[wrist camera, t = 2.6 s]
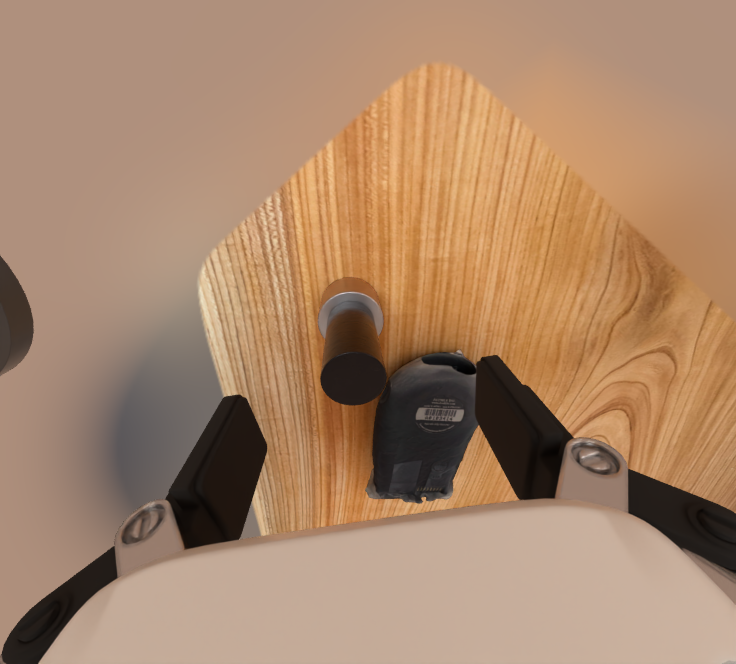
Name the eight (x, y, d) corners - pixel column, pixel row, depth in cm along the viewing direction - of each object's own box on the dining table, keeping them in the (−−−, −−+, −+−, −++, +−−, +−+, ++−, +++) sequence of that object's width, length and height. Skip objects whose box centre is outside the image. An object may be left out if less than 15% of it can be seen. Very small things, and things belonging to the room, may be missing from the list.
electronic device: (451, 458, 32) (501, 353, 23) (460, 513, 27) (527, 408, 19) (367, 447, 32) (386, 338, 23) (362, 500, 27) (384, 389, 19)
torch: (313, 320, 21) (295, 403, 13) (331, 268, 20) (323, 327, 12) (366, 337, 22) (378, 423, 14) (387, 288, 21) (415, 355, 13)
